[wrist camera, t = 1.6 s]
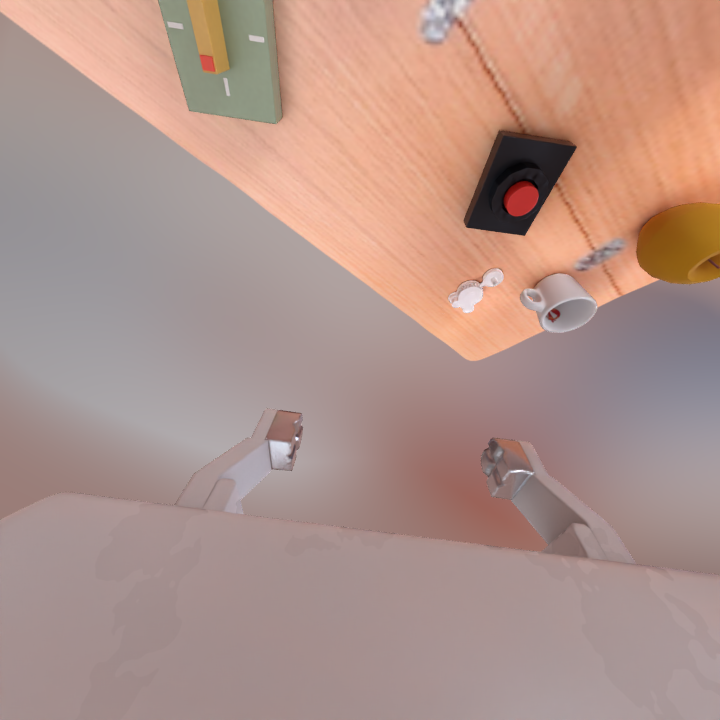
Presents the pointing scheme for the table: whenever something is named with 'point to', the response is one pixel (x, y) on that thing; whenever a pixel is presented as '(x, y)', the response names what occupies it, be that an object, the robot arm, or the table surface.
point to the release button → (521, 198)
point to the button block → (516, 179)
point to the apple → (682, 244)
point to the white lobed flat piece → (474, 290)
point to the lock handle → (209, 35)
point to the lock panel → (245, 56)
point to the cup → (560, 303)
